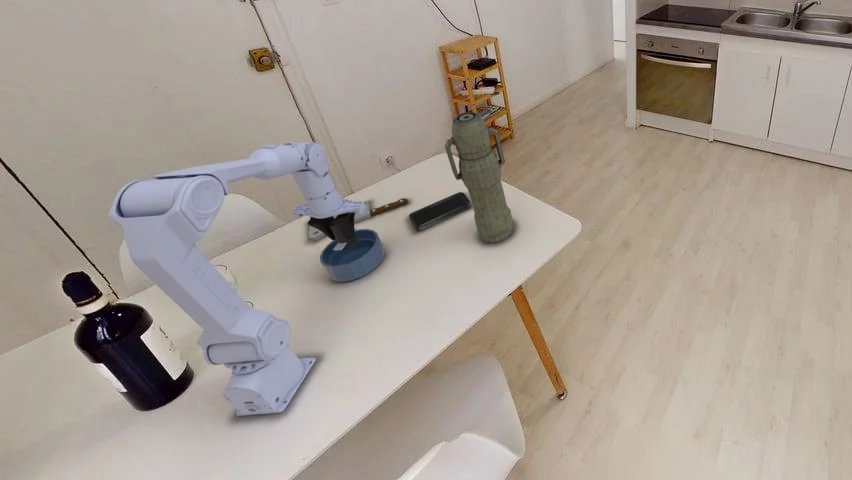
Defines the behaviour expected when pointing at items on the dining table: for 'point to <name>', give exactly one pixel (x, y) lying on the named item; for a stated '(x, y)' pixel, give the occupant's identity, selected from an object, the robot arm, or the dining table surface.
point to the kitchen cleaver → (360, 216)
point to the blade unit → (342, 238)
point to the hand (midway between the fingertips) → (343, 236)
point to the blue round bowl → (353, 257)
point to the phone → (439, 211)
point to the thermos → (481, 175)
